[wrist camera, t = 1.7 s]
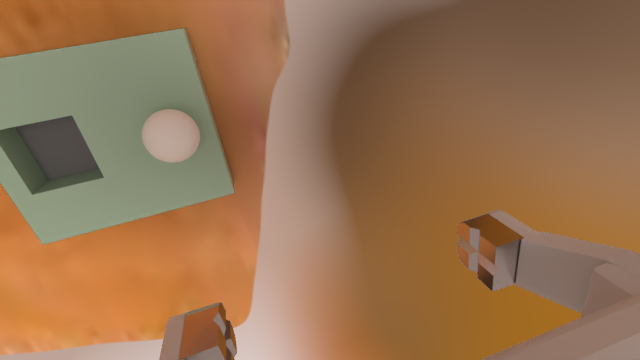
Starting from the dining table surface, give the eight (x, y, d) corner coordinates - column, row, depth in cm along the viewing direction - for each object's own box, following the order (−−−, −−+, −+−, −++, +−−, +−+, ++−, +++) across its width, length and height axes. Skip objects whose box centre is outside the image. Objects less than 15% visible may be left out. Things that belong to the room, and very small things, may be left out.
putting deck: (-45, 66, 23) (-77, 70, 20) (186, 28, 26) (183, 28, 23) (57, 225, 29) (42, 244, 27) (233, 180, 32) (234, 193, 30)
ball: (138, 110, 25) (126, 123, 21) (191, 99, 26) (188, 110, 22) (158, 157, 27) (149, 176, 23) (207, 145, 27) (206, 163, 24)
